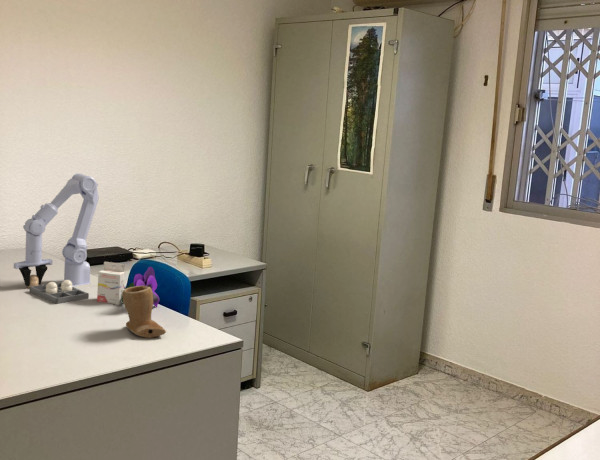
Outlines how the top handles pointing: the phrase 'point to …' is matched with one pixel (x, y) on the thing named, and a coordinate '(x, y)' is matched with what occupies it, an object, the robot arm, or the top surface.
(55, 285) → the cream egg
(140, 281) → the flower
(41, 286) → the carton
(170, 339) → the top surface
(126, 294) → the brown felt boot
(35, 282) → the brown egg
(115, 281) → the ink cartridge box
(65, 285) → the cream egg
